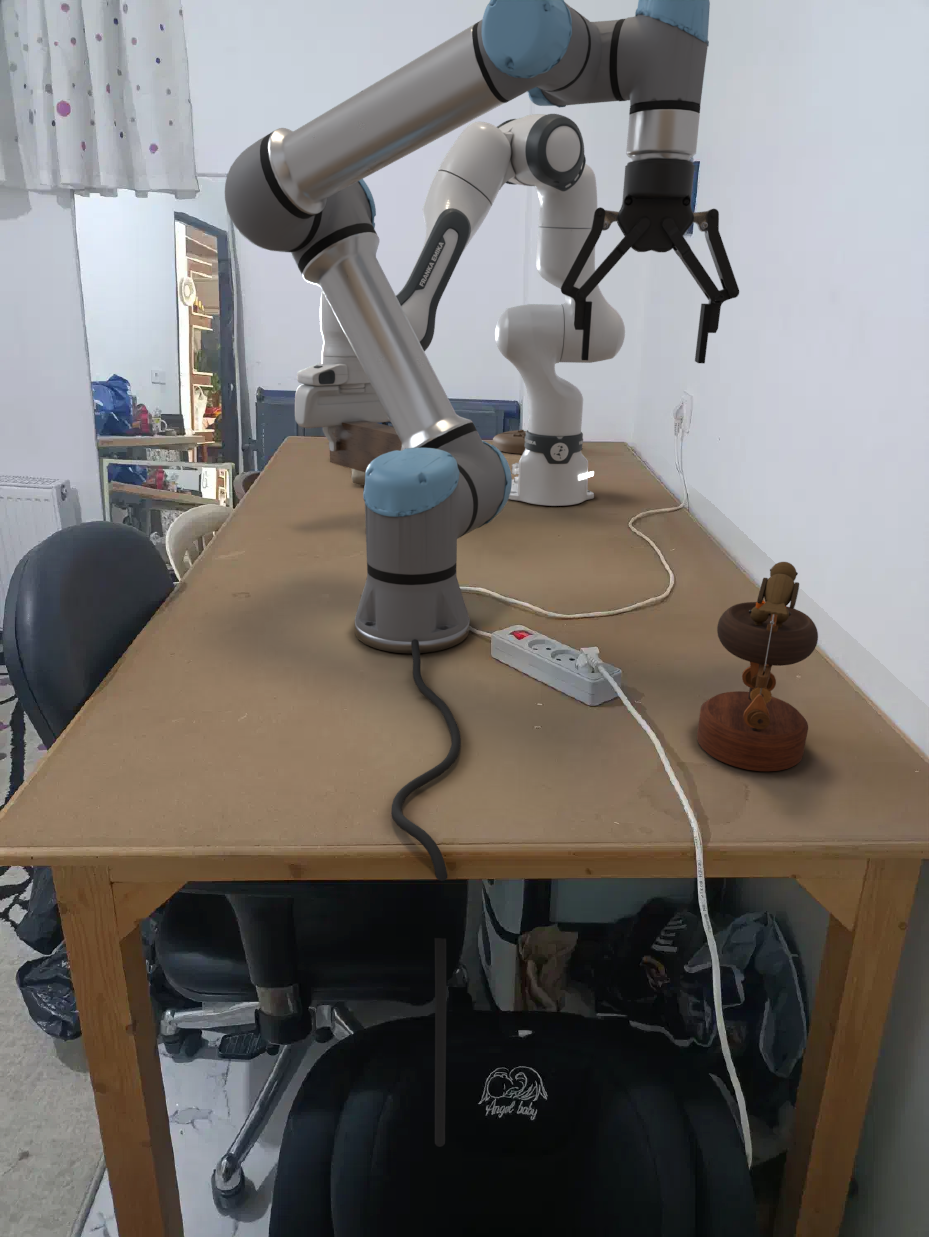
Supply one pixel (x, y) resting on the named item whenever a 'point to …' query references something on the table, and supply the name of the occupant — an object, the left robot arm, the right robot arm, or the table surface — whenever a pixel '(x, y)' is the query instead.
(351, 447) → the bar
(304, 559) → the table surface
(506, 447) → the brown rounded slab
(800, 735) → the wooden figurine sculpture
